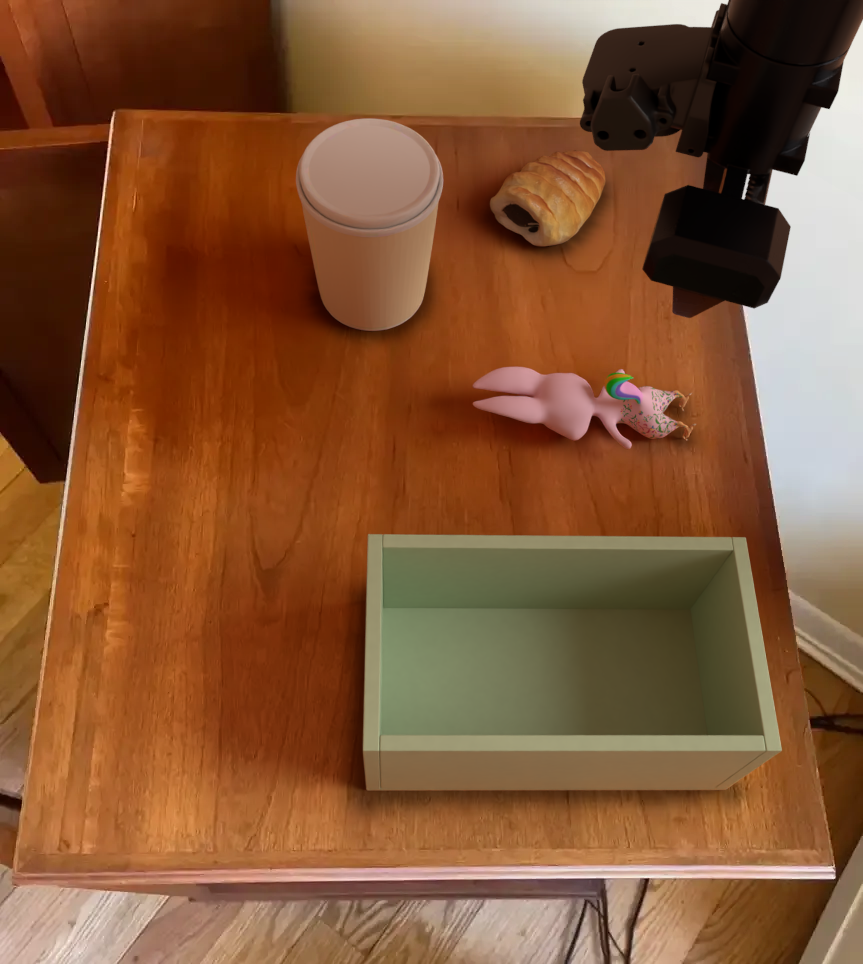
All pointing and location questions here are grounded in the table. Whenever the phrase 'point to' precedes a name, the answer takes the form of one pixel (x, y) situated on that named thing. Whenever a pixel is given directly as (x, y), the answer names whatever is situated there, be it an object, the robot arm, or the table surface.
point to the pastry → (550, 197)
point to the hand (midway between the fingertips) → (696, 254)
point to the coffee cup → (370, 219)
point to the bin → (563, 663)
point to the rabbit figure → (580, 403)
